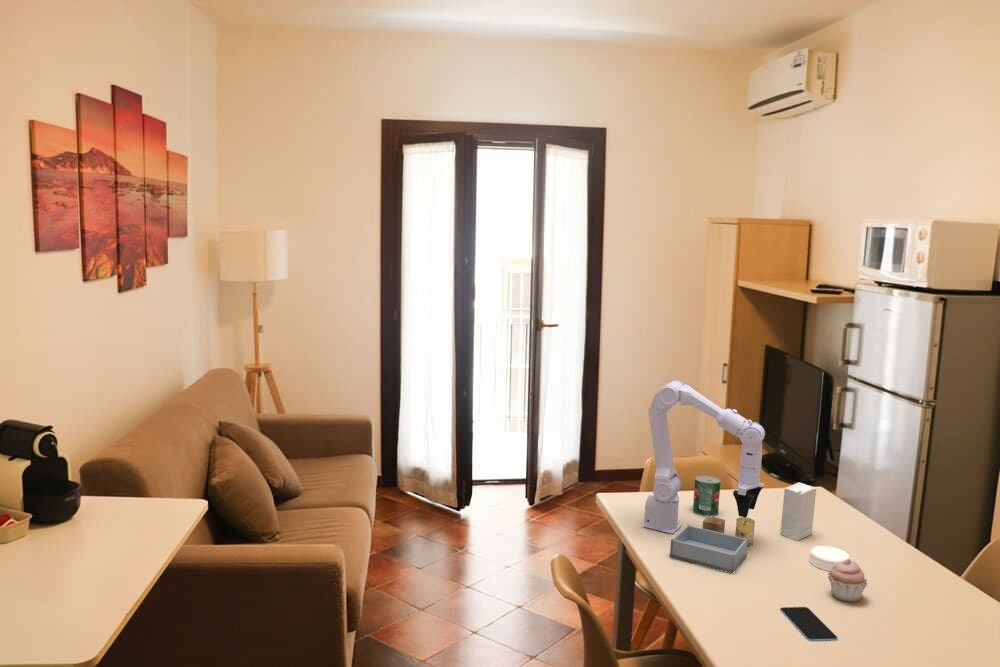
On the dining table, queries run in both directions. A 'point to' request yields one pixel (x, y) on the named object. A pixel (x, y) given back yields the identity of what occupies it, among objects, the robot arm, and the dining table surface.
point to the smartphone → (808, 624)
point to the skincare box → (798, 511)
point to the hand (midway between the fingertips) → (746, 512)
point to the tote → (709, 548)
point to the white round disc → (827, 557)
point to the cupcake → (847, 581)
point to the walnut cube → (714, 524)
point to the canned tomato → (706, 495)
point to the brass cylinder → (745, 529)
